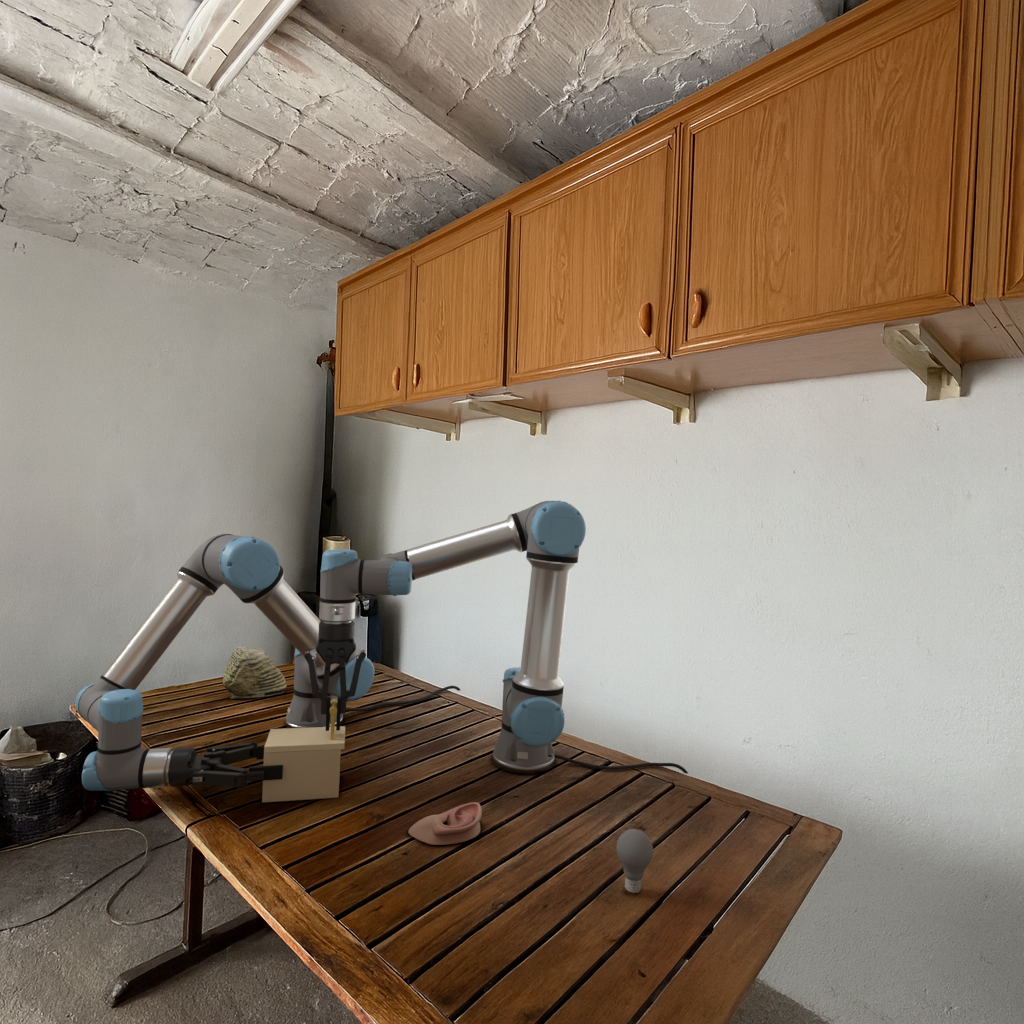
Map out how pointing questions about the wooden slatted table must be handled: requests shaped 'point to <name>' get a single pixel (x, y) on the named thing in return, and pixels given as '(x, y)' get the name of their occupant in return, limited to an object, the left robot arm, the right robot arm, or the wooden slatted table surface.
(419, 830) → the anatomical model
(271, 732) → the lid
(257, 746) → the left robot arm
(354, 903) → the wooden slatted table surface
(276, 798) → the chest
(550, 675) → the right robot arm
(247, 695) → the fossil
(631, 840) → the light bulb
